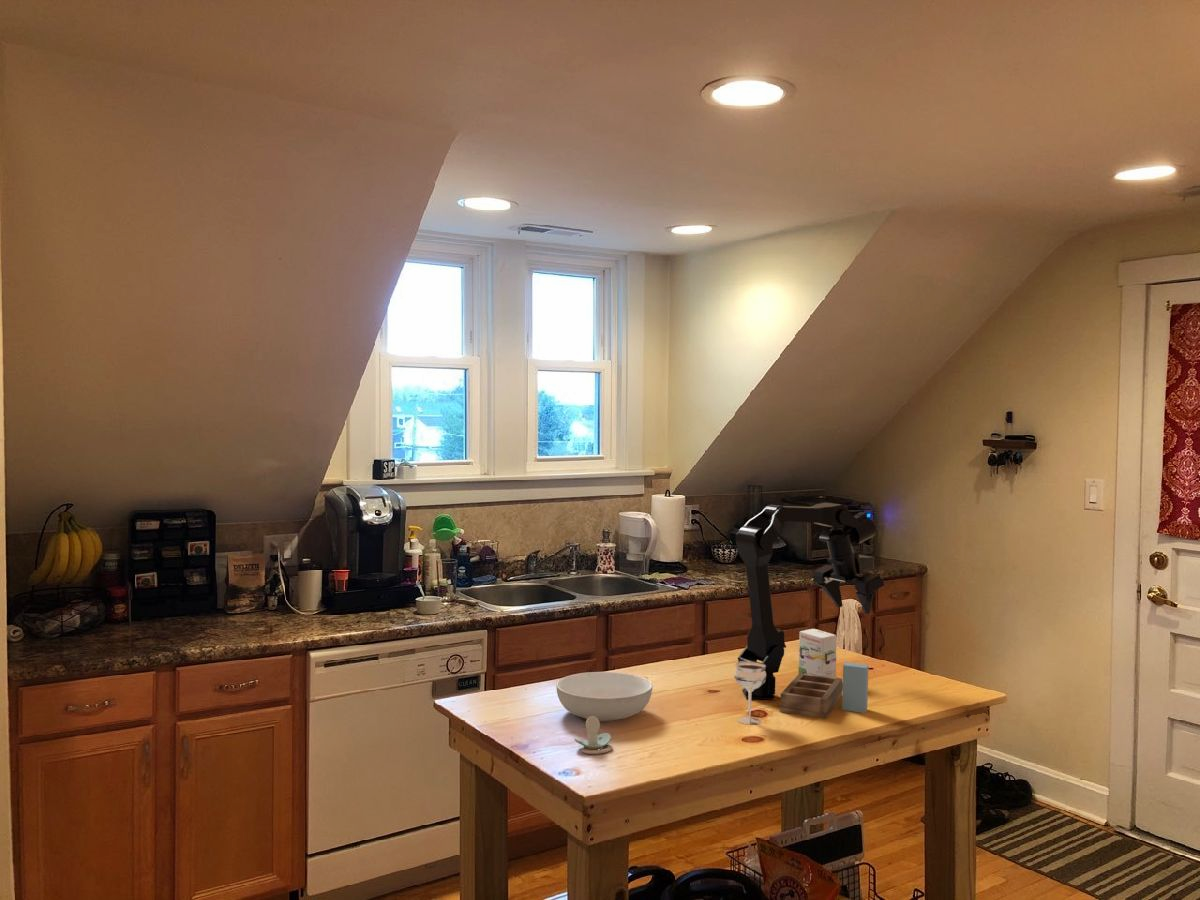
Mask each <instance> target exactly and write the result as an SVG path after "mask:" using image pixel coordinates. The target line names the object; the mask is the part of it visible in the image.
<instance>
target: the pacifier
mask: <svg viewBox="0 0 1200 900" xmlns="http://www.w3.org/2000/svg"><path fill="white" fill-rule="evenodd" d="M600 727H601V721H599V720H598V718H597V717H595V716H591V717H589V718H588V719H586V721H585V729H586V731H587V740H584V739H579V738H574V741H575V742H576V743H578V744H579V745H580V746H583V747H582V748H581V752H582V753H584V754H586V755H599V754H605V753H608V751H609V752H610V751H612V750H613V748H614V747H613V745H611V744H609V743H610V742H611V734H610V733H608V732H603V733H600V734H599V730H600ZM605 747H606V748H605ZM601 748H602V749H601ZM598 749H600V750H598Z"/></svg>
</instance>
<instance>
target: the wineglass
mask: <svg viewBox="0 0 1200 900" xmlns="http://www.w3.org/2000/svg"><path fill="white" fill-rule="evenodd" d="M734 665H735V670H734V676H733V677H734V679H735V682H736V683H737V684H738V685H739V687H742V689H744V688H745V689H746V690H747V691H748V699H747V700H748V703H747V705H748V708H747V709H748V716H742V717H739V718H738V719H737V722H739V723H740V724H743V725H748V726H749V725H750V726H751V725H754V726H755V725H758V724H759V725H760V724H761V723H762V720H761V719H760V718H757V717H754V716H751V713H752V711H751V710H752V700H753V699H752V692H753V691H754V689H757V688H759V687H760V686H761V685H763V684H764V682H765V680H766V671H765V668H766V665H765V664H764V663H762V661H757V662H756V661H740V662H738V661H737V662H735V663H734Z"/></svg>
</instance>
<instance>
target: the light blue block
mask: <svg viewBox="0 0 1200 900" xmlns="http://www.w3.org/2000/svg"><path fill="white" fill-rule="evenodd" d="M868 693H869V664H864V663H856V662H850V661H849V662H848V661H845V662H844V664H843V665H842V696H841V697H842V699H841V701H842V702H841V710H843V711H848V712H856V713H860V714H861V713H863V714H866V713H867V710H868V698H869V697H868V696H869V694H868Z"/></svg>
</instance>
